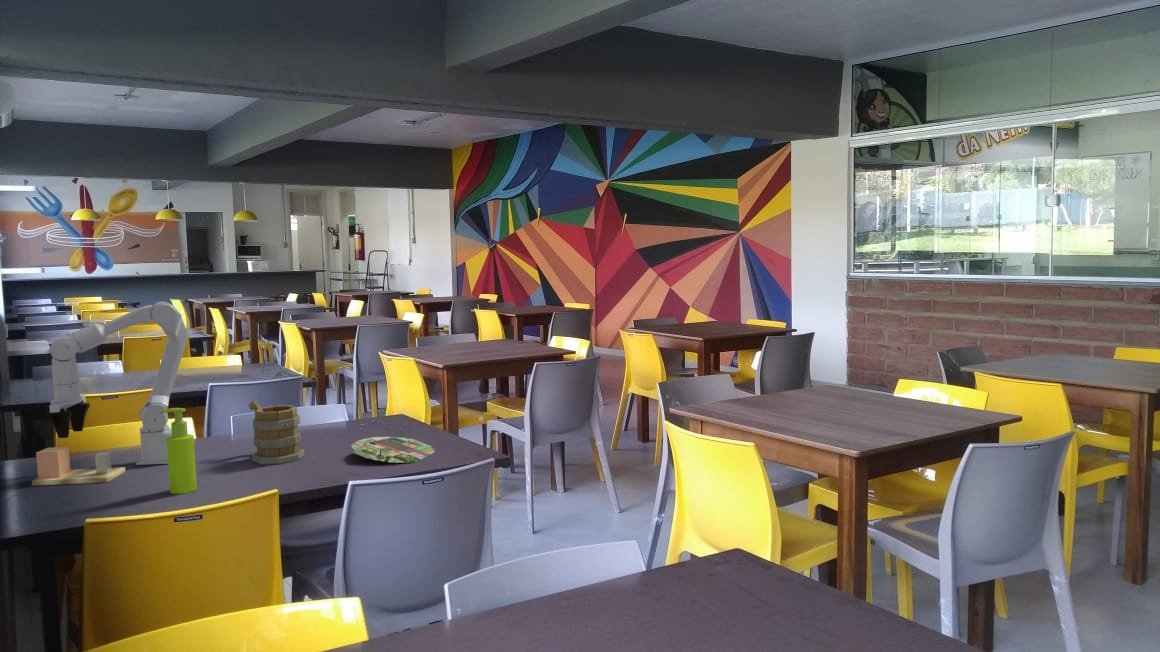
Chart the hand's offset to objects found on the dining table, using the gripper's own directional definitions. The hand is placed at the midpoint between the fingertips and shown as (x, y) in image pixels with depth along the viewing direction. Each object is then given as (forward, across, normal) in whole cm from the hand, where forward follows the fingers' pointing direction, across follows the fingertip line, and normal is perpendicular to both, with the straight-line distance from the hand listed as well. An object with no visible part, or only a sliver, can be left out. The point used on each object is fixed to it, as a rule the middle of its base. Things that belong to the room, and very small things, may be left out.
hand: (70, 434), depth 218 cm
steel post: (+9, +7, +10) cm, 15 cm away
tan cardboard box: (+9, +6, -2) cm, 11 cm away
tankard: (+11, -8, +49) cm, 50 cm away
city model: (+11, -2, +83) cm, 84 cm away
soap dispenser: (+11, +23, +35) cm, 43 cm away
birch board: (+10, +6, +4) cm, 13 cm away
